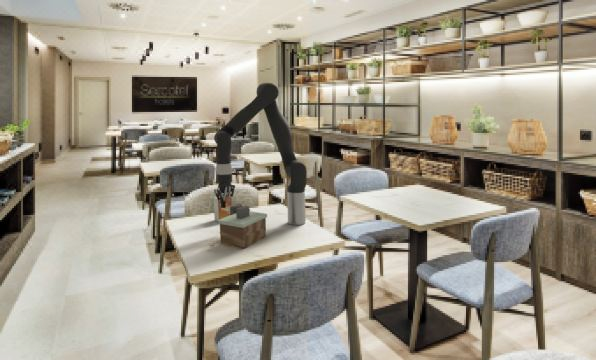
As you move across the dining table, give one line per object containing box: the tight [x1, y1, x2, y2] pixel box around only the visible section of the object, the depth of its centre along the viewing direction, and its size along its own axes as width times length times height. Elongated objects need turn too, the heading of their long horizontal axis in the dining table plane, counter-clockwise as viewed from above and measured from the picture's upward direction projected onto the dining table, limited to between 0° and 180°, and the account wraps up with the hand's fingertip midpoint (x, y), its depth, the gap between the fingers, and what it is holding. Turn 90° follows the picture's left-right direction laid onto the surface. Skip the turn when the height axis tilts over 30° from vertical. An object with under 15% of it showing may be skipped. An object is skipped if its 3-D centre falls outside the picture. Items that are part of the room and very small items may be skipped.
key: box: [221, 196, 251, 212], centre depth 205 cm, size 3×15×6 cm, turn 61°
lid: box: [217, 205, 268, 228], centre depth 196 cm, size 19×14×7 cm
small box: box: [213, 196, 233, 223], centre depth 231 cm, size 8×6×13 cm
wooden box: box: [219, 203, 267, 250], centre depth 198 cm, size 18×16×15 cm
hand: (225, 206), depth 208 cm, fingers closed on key, 3 cm apart
